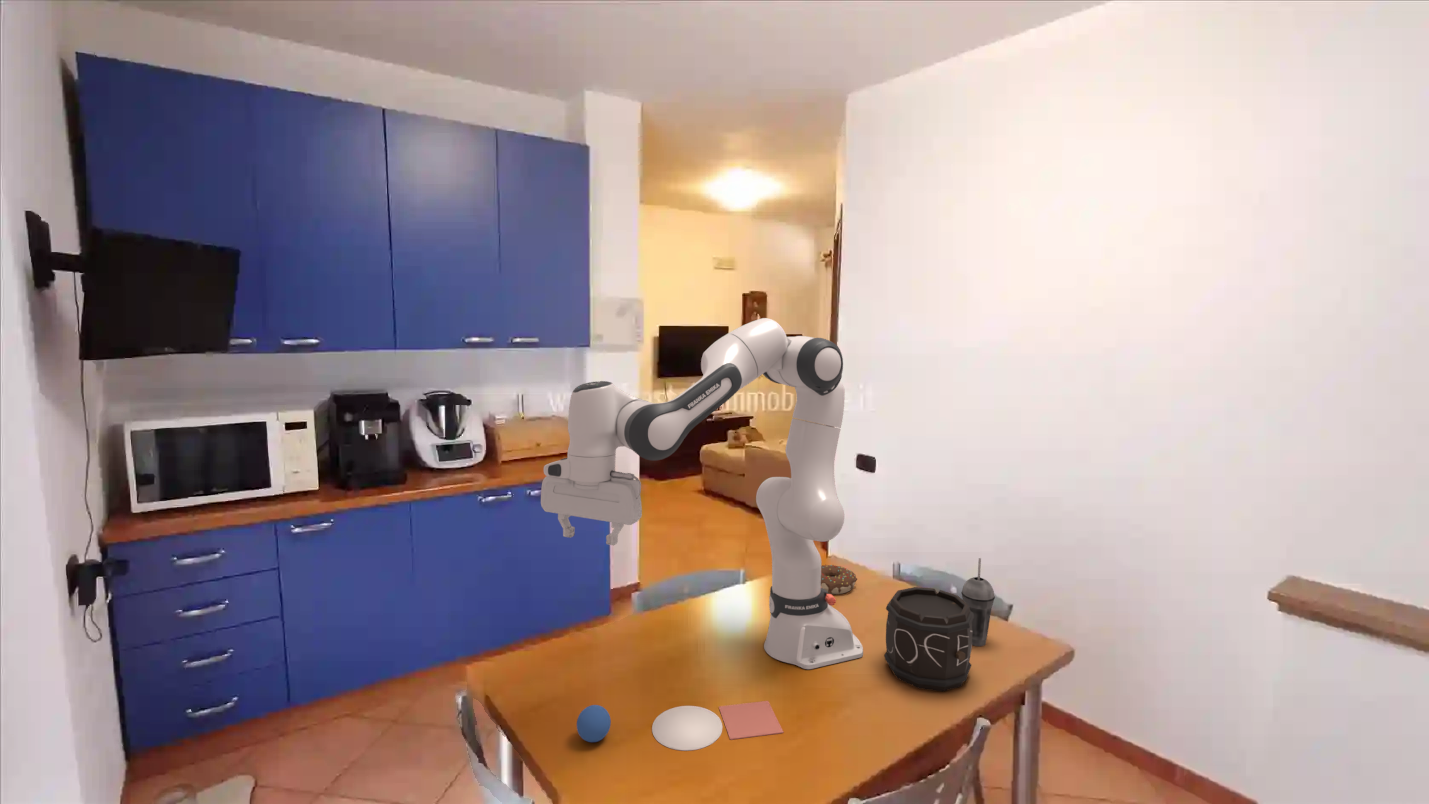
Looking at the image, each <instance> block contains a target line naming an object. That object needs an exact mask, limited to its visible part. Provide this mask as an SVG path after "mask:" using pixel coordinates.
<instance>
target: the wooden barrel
mask: <svg viewBox="0 0 1429 804" xmlns="http://www.w3.org/2000/svg"><path fill="white" fill-rule="evenodd" d="M885 609H886V611H887V618H886V624H885V649H886V652H885V654H884V655H883V657H884V660H885V662H886V663H887V664H888V667H889V668H890V670H891V671H892V673H893V674H894V676H895V677H896V679H897V680H900V681H902V682H904V683H905V684H908V685H909V686H913V687H914V688H916V689H919V690H920V689H921V690H925V691H926V690H928V691H934V692H936V691H937V692H946V691H949V690H953V689H956V688H960V687H962V686H963V683H964V682H966V681H967V678H968V676H969V674H970V673H969V672H970V670H971V667H972V664H971V661H970V659H971V654H972V650H973V649H972V647H973V645H972V621H973V618H974V614H973V612H971V611H970V607H969V605H968V604H967V603H966V602H964V601H963V599H962V598H961V597H960V596H959V595H957V594H954V593H951V592H949V591H945V590H941V589H939V591H938V592H937V590H936V589H935V588H931V587H930V588H929V587H920V586H913V587H907V588H903V589H899V590H897V591H896V592H895V593H894V595H893V596H892V597H891V598H890V600H889V602H888V603H887V604H886V607H885Z"/></svg>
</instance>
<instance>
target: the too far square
mask: <svg viewBox="0 0 1429 804" xmlns="http://www.w3.org/2000/svg"><path fill="white" fill-rule="evenodd" d="M718 709H719V711H720V714H721V718H722V720H723V723H724V726H725V728H726V733H727V735H728V738H729V740H731V741H732V740H740V739H746V738H755V737H762V736H770V735H778V734H784V730H783V728H782V726H781V724H780V722H779V720H778V718H777V716H776V714H775V712H774V710H773V707H772V706H771V703H770V702H769V700H764V701H763V700H762V701H755V702H746V703H744V702H743V703H737V704H729V705H720V706H718Z"/></svg>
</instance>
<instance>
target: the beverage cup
mask: <svg viewBox="0 0 1429 804" xmlns="http://www.w3.org/2000/svg"><path fill="white" fill-rule="evenodd" d="M981 562H982V558H981V557H980V558H978V564H977V565H978V566H977V576H975V577H973V576H972V577H971V578H969V579H967V580H966V581H965V583H964V585H963V586H962V590H961V597H962V598H961V599H962V600H963V601H964V602H966V603H967V604H968V605H969V607H970V611H971V612H973V614H974V618H973V621H972V646H975V647H983V646H986V644H987V638H988V634H989V628H990V627H989V626H990V621H991V616H992V615H991V613H992V608H993V605H994V602H995V601H994V600H995V598H996V597H995V591H994V589H993V586H992V584H991V583H990V582H989V581H988V580H987V579H985V578H982V577H981V570H982V569H981V565H982V563H981Z"/></svg>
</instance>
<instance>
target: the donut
mask: <svg viewBox="0 0 1429 804" xmlns="http://www.w3.org/2000/svg"><path fill="white" fill-rule="evenodd" d="M857 580H858V578H857V575H856V574H855V572H854V571H852V570H851V569H849V568H846V567H843V566H841V565H834V564H825V565H822V564H821V587H822V588H823V589H825V590H826V591H827V592H828V594H831V595H842V594H847V593H849V592H850V591H851V590H852V589H854V588H855V585H856V583H857Z"/></svg>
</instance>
